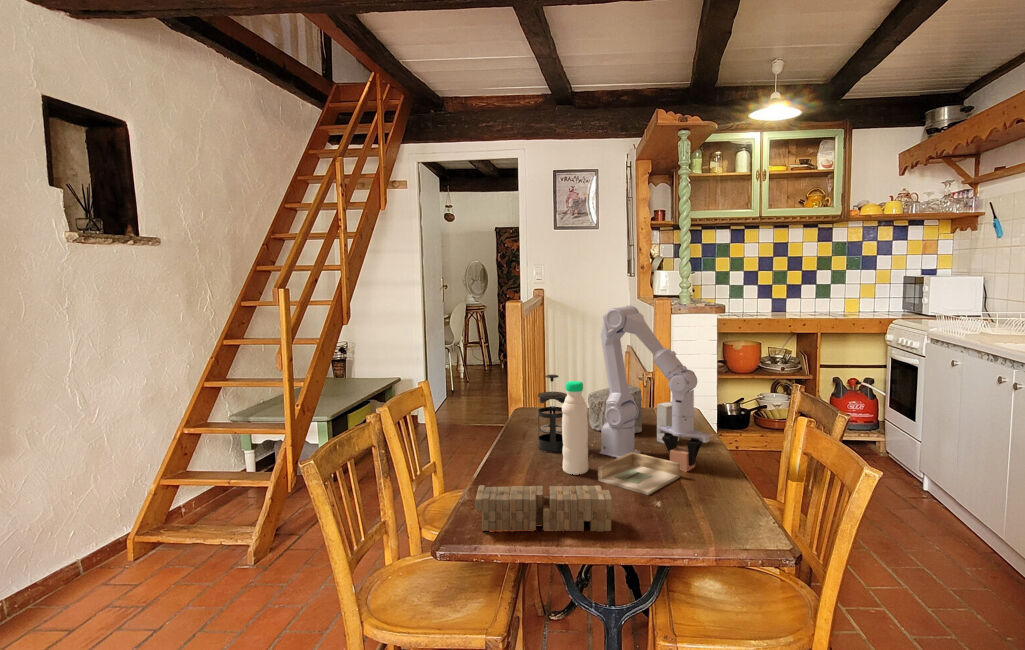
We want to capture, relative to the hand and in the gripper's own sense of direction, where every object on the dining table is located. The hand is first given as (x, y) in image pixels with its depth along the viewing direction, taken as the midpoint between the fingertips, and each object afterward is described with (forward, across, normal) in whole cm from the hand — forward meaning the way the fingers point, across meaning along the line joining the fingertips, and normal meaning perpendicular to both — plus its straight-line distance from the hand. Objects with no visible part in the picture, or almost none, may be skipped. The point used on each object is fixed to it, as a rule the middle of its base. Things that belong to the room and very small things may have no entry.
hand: (682, 462), depth 166 cm
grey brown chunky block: (+2, -36, +21) cm, 42 cm away
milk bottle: (+2, -21, -21) cm, 30 cm away
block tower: (+2, -6, -52) cm, 52 cm away
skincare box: (+2, -15, +19) cm, 24 cm away
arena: (+1, -4, -15) cm, 16 cm away
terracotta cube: (+1, 0, 0) cm, 1 cm away
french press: (+2, -39, -9) cm, 40 cm away
